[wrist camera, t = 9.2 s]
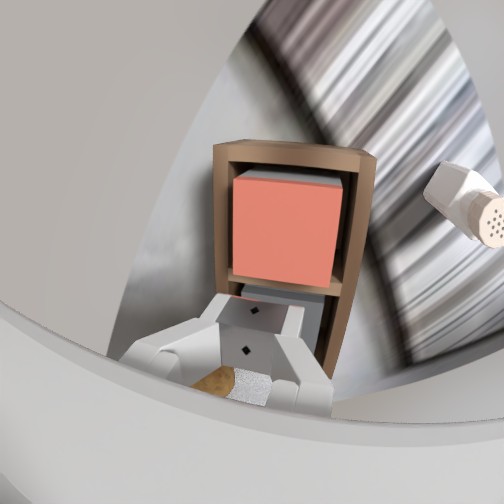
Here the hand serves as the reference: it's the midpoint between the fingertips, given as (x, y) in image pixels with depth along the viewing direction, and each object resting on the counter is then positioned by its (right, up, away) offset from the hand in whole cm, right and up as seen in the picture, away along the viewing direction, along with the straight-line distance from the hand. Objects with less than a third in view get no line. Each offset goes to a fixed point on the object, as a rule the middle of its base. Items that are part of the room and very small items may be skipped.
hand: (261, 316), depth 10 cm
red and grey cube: (+3, +6, +12) cm, 14 cm away
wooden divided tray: (+4, +3, +17) cm, 17 cm away
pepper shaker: (+16, +8, +11) cm, 21 cm away
